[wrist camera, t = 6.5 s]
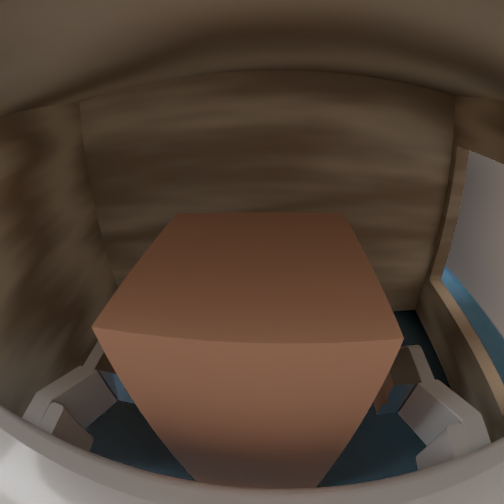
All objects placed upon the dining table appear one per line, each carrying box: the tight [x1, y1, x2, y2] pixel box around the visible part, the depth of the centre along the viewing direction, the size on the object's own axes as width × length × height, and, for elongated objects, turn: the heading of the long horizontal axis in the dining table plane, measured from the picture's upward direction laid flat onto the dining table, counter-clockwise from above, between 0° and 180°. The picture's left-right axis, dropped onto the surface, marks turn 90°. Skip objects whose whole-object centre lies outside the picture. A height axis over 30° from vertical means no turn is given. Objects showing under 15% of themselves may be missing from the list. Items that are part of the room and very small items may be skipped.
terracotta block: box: [91, 212, 404, 489], centre depth 8 cm, size 5×5×10 cm
